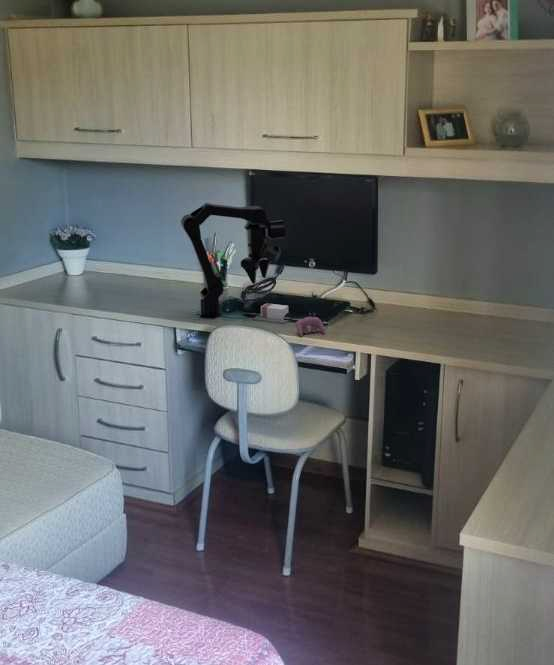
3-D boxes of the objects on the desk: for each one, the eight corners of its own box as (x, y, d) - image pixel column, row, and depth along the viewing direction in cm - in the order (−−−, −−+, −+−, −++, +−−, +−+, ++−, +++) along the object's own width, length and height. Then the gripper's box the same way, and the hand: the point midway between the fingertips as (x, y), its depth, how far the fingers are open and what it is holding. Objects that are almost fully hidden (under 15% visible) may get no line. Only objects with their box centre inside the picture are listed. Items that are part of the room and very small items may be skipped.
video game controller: (322, 335, 313) (319, 316, 314) (326, 333, 309) (323, 314, 310) (296, 338, 310) (293, 319, 311) (300, 336, 306) (296, 317, 307)
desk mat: (252, 320, 327) (252, 318, 327) (265, 311, 337) (265, 310, 336) (284, 323, 322) (284, 322, 322) (296, 315, 331) (296, 314, 331)
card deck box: (283, 319, 325) (282, 309, 324) (260, 317, 329) (260, 306, 327) (288, 316, 330) (288, 305, 328) (266, 313, 333) (266, 303, 332)
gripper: (266, 247, 318) (267, 288, 323) (287, 236, 334) (288, 276, 339) (239, 244, 322) (240, 286, 327) (260, 234, 339) (262, 273, 343)
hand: (258, 280), depth 334 cm, fingers open, 9 cm apart
